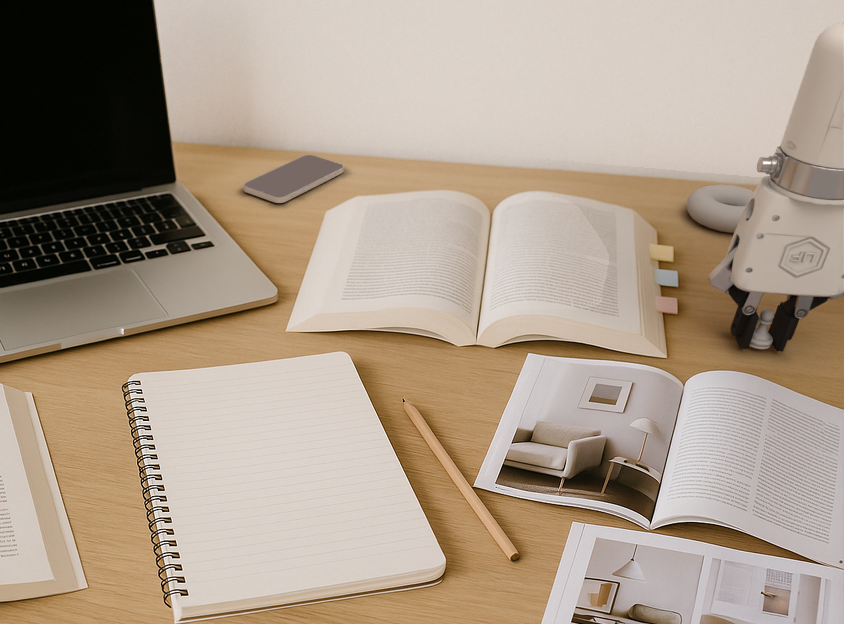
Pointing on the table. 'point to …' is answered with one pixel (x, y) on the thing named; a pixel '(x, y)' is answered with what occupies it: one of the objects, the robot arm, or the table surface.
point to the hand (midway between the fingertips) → (757, 341)
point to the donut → (718, 206)
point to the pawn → (763, 331)
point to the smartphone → (293, 178)
